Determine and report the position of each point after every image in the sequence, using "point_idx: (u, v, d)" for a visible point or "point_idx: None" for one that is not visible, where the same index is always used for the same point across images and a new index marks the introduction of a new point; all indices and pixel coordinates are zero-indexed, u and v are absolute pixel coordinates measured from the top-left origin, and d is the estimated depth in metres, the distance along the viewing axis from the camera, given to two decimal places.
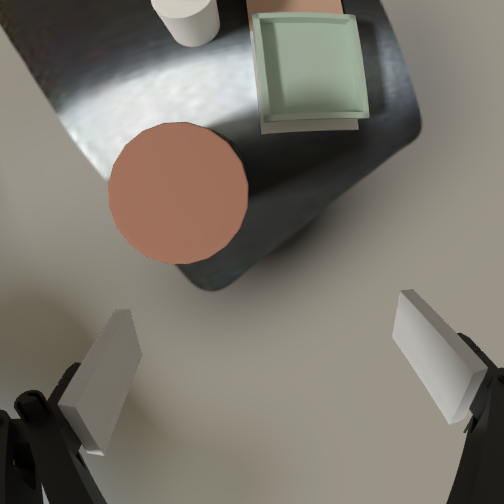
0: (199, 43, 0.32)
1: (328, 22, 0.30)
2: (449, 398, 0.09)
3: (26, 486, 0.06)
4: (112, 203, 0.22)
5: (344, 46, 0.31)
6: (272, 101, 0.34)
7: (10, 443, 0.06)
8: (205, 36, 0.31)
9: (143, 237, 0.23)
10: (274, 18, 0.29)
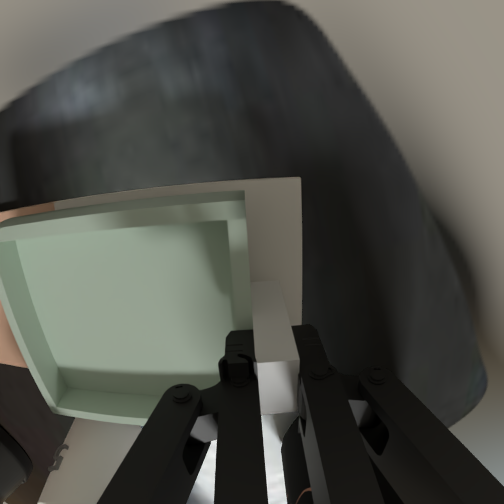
0: None
1: (19, 274, 0.14)
2: None
3: (185, 471, 0.07)
4: None
5: (58, 237, 0.14)
6: None
7: (190, 425, 0.08)
8: (127, 444, 0.20)
9: None
10: (47, 383, 0.15)
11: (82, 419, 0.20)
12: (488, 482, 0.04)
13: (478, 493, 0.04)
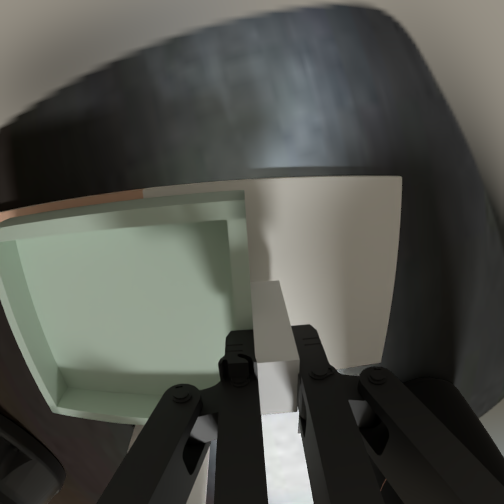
0: None
1: (19, 274, 0.14)
2: None
3: (185, 471, 0.07)
4: None
5: (58, 237, 0.14)
6: None
7: (190, 425, 0.08)
8: None
9: None
10: (47, 383, 0.15)
11: None
12: (488, 482, 0.04)
13: (478, 493, 0.04)
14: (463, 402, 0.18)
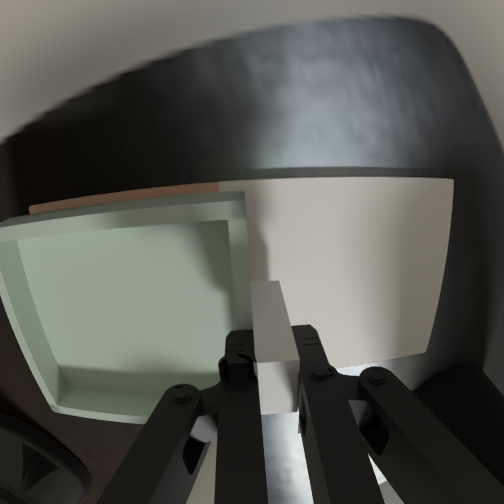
0: None
1: (20, 273, 0.14)
2: None
3: (185, 471, 0.07)
4: None
5: (60, 237, 0.14)
6: None
7: (190, 425, 0.08)
8: None
9: None
10: (48, 382, 0.15)
11: None
12: (489, 482, 0.04)
13: (478, 493, 0.04)
14: (495, 387, 0.18)
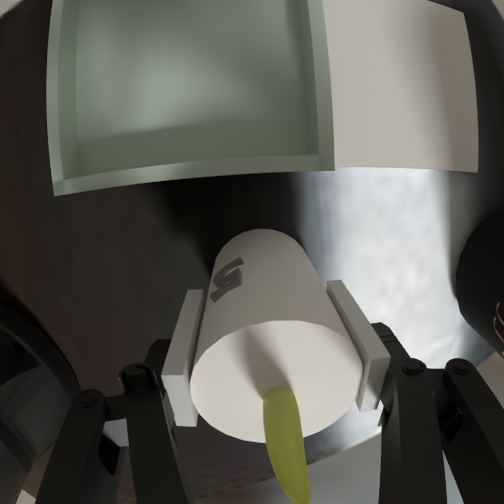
0: None
1: (74, 30, 0.12)
2: None
3: (105, 472, 0.07)
4: None
5: None
6: (273, 142, 0.15)
7: (99, 427, 0.08)
8: None
9: None
10: (63, 144, 0.13)
11: (245, 241, 0.18)
12: None
13: None
14: None
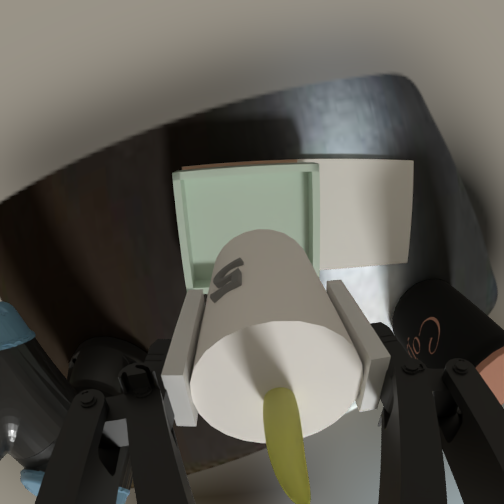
0: None
1: (185, 201, 0.30)
2: None
3: (105, 472, 0.07)
4: None
5: (217, 180, 0.30)
6: None
7: (100, 427, 0.08)
8: None
9: (499, 402, 0.24)
10: (191, 270, 0.31)
11: (245, 241, 0.18)
12: None
13: None
14: (457, 291, 0.34)
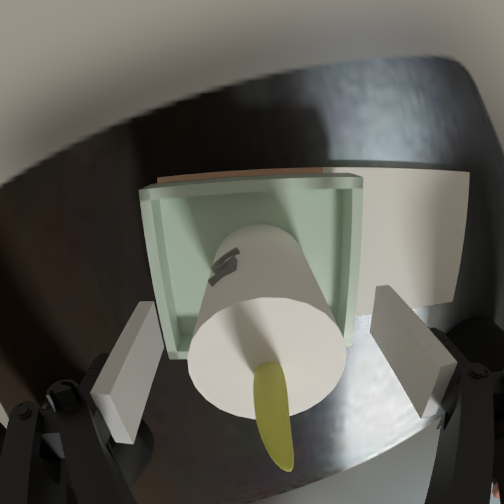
0: None
1: (161, 230, 0.20)
2: (420, 392, 0.10)
3: (50, 480, 0.06)
4: None
5: (208, 200, 0.20)
6: None
7: (37, 436, 0.07)
8: None
9: None
10: (173, 329, 0.21)
11: (242, 234, 0.19)
12: None
13: None
14: None
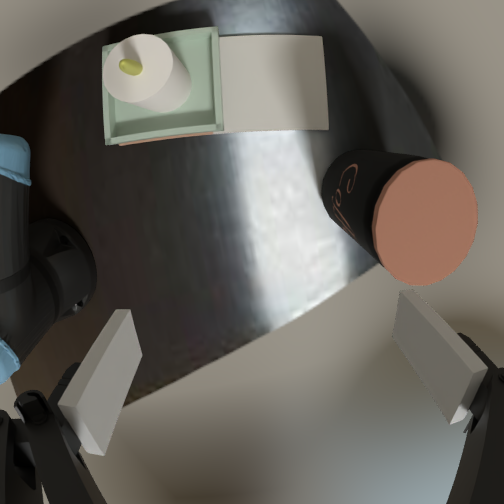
0: (189, 77, 0.30)
1: None
2: (449, 398, 0.09)
3: (26, 486, 0.06)
4: (424, 282, 0.24)
5: None
6: (201, 121, 0.33)
7: (10, 443, 0.06)
8: (184, 67, 0.29)
9: (453, 257, 0.23)
10: (110, 123, 0.31)
11: None
12: None
13: None
14: None
